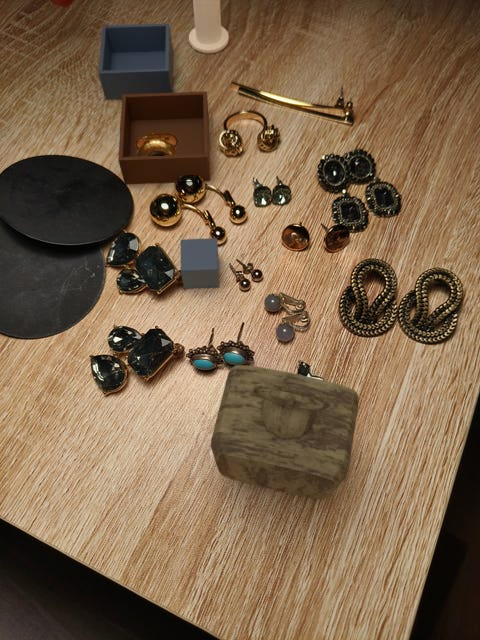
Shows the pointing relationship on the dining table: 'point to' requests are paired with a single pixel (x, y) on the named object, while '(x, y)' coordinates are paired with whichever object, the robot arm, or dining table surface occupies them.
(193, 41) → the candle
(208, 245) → the blue block
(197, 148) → the brown bin
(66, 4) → the onion
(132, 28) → the blue bin
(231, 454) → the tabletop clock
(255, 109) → the dining table surface
